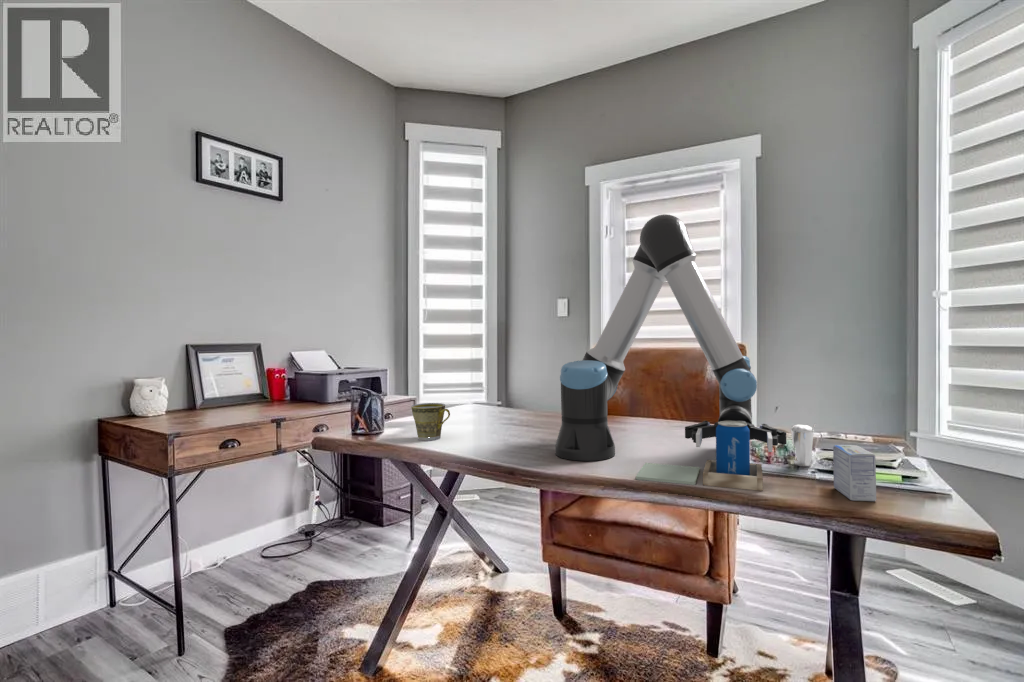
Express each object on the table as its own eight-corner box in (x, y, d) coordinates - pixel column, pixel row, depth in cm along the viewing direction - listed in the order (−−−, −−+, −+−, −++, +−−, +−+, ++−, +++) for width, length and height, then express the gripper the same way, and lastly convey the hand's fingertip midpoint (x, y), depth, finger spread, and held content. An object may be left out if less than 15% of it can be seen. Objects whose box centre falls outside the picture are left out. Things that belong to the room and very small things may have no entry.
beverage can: (716, 483, 110) (715, 425, 109) (716, 474, 116) (716, 419, 115) (750, 486, 107) (750, 426, 107) (749, 477, 113) (748, 421, 113)
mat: (635, 479, 114) (635, 476, 114) (645, 465, 125) (645, 462, 125) (695, 485, 109) (695, 482, 109) (700, 469, 120) (699, 467, 120)
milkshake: (809, 469, 118) (808, 424, 118) (786, 463, 123) (786, 420, 123) (821, 466, 120) (821, 422, 120) (799, 461, 125) (799, 418, 125)
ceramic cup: (405, 440, 158) (404, 406, 158) (427, 434, 167) (426, 402, 166) (439, 444, 151) (438, 409, 151) (460, 437, 160) (459, 404, 159)
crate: (703, 485, 109) (702, 472, 109) (706, 471, 119) (706, 459, 119) (762, 490, 104) (762, 478, 104) (761, 475, 114) (761, 464, 114)
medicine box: (877, 502, 97) (876, 454, 96) (849, 501, 97) (849, 454, 97) (858, 488, 104) (857, 444, 104) (832, 488, 105) (832, 444, 105)
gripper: (793, 443, 123) (802, 466, 104) (680, 436, 133) (669, 456, 114) (793, 410, 123) (802, 428, 103) (680, 406, 133) (669, 421, 113)
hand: (733, 442), depth 109 cm, fingers open, 13 cm apart
